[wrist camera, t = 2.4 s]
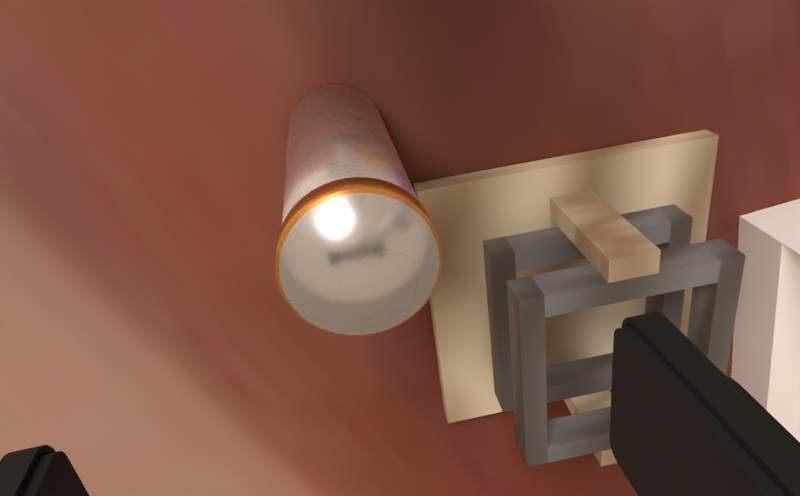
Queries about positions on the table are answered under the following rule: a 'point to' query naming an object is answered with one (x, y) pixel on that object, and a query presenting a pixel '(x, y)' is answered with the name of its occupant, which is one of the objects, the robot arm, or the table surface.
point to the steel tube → (351, 220)
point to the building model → (770, 312)
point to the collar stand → (573, 281)
